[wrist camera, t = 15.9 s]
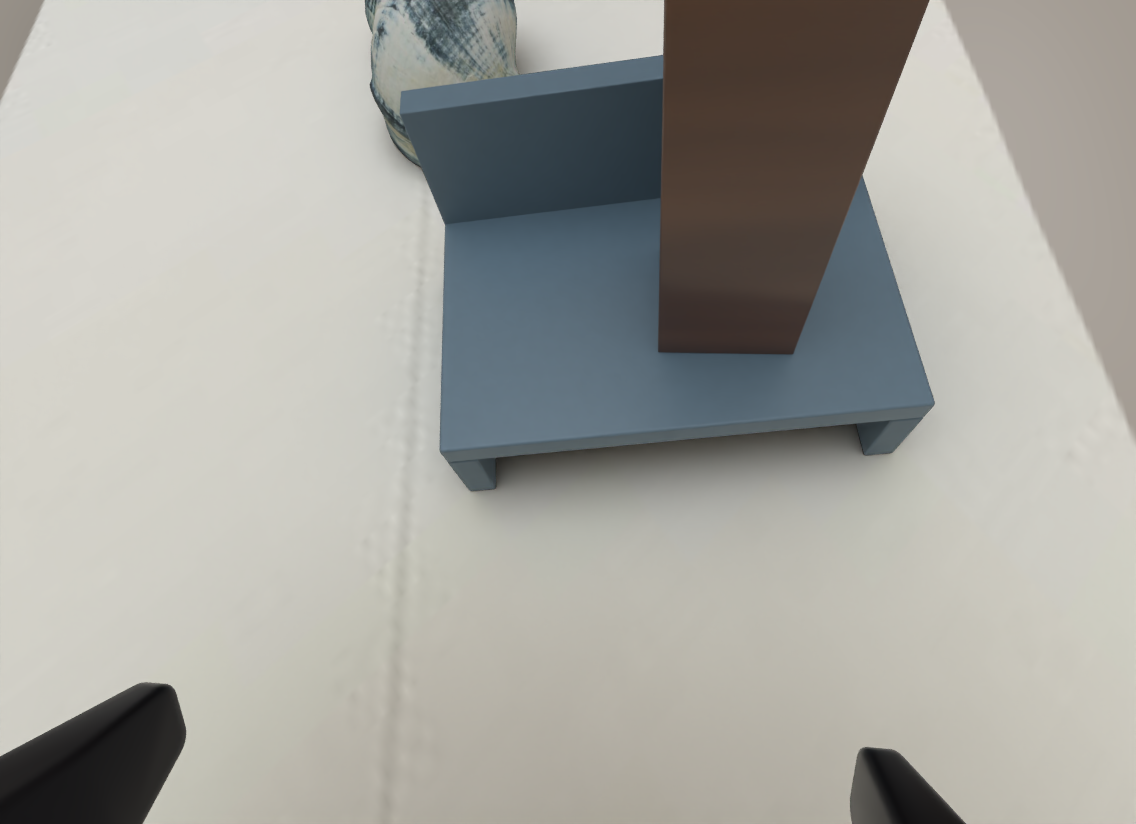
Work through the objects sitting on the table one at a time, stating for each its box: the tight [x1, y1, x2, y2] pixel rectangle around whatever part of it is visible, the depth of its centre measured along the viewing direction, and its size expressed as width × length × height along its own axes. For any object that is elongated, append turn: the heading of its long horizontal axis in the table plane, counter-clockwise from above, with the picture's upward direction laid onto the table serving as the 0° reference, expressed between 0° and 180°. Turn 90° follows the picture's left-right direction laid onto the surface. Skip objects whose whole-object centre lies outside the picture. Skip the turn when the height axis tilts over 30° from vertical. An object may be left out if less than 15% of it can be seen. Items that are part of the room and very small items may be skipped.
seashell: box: [365, 0, 520, 167], centre depth 31 cm, size 6×8×12 cm
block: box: [658, 0, 929, 354], centre depth 17 cm, size 4×4×12 cm
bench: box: [399, 55, 935, 491], centre depth 22 cm, size 10×15×9 cm, turn 94°
